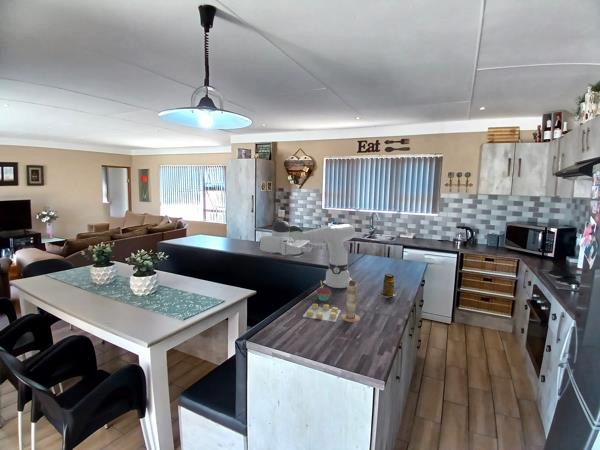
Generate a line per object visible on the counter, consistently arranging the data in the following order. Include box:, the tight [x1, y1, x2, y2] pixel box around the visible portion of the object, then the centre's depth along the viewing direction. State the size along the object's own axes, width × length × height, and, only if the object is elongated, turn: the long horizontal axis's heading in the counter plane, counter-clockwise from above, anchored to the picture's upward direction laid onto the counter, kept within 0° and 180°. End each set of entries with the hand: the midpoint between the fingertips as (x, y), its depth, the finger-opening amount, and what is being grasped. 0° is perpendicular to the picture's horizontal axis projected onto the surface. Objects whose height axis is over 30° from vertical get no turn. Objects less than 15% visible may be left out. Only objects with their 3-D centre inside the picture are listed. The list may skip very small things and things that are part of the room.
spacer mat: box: [302, 303, 341, 323], centre depth 156 cm, size 14×16×3 cm
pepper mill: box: [345, 279, 358, 319], centre depth 150 cm, size 5×5×19 cm
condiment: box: [377, 273, 397, 299], centre depth 185 cm, size 7×8×12 cm
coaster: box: [340, 313, 361, 323], centre depth 152 cm, size 9×9×1 cm
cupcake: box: [315, 280, 332, 302], centre depth 174 cm, size 9×8×12 cm
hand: (313, 247), depth 159 cm, fingers open, 8 cm apart
